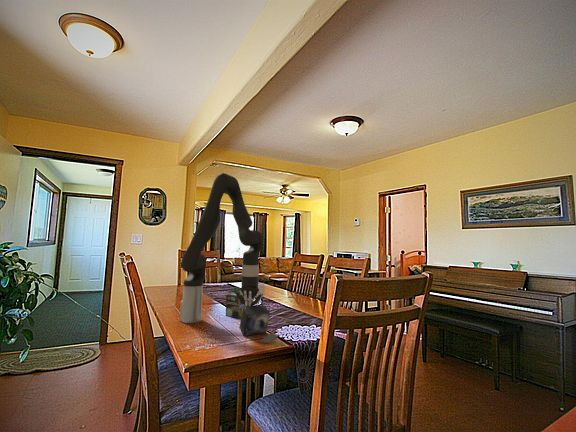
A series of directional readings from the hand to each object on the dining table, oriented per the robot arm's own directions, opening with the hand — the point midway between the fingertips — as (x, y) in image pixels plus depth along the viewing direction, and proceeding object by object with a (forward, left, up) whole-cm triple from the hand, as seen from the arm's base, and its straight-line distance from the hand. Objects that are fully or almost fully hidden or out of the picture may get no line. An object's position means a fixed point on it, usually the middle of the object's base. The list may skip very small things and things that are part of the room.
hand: (248, 314), depth 136 cm
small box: (+2, -1, -7) cm, 7 cm away
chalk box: (-19, +24, -8) cm, 31 cm away
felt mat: (+12, -4, -8) cm, 15 cm away
